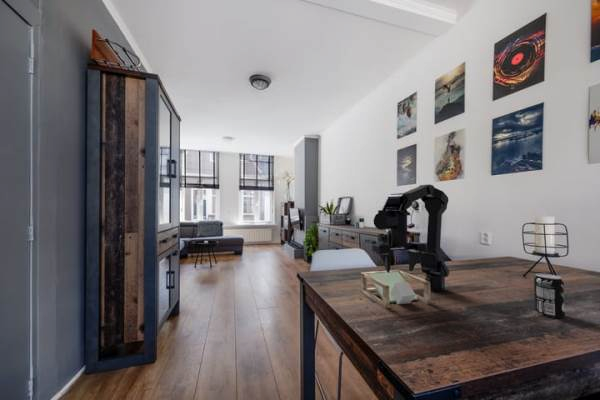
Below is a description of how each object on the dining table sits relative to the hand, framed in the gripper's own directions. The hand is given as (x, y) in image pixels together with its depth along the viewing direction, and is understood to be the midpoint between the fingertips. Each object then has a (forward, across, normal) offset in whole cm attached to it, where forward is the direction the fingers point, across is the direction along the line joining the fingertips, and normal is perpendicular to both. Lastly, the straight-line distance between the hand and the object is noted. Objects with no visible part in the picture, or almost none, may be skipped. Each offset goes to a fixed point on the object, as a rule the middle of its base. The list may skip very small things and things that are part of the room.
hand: (399, 271), depth 88 cm
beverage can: (+11, -39, +20) cm, 45 cm away
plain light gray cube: (+9, 0, 0) cm, 9 cm away
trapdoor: (+7, 0, -5) cm, 9 cm away
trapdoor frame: (+10, 0, -4) cm, 11 cm away
